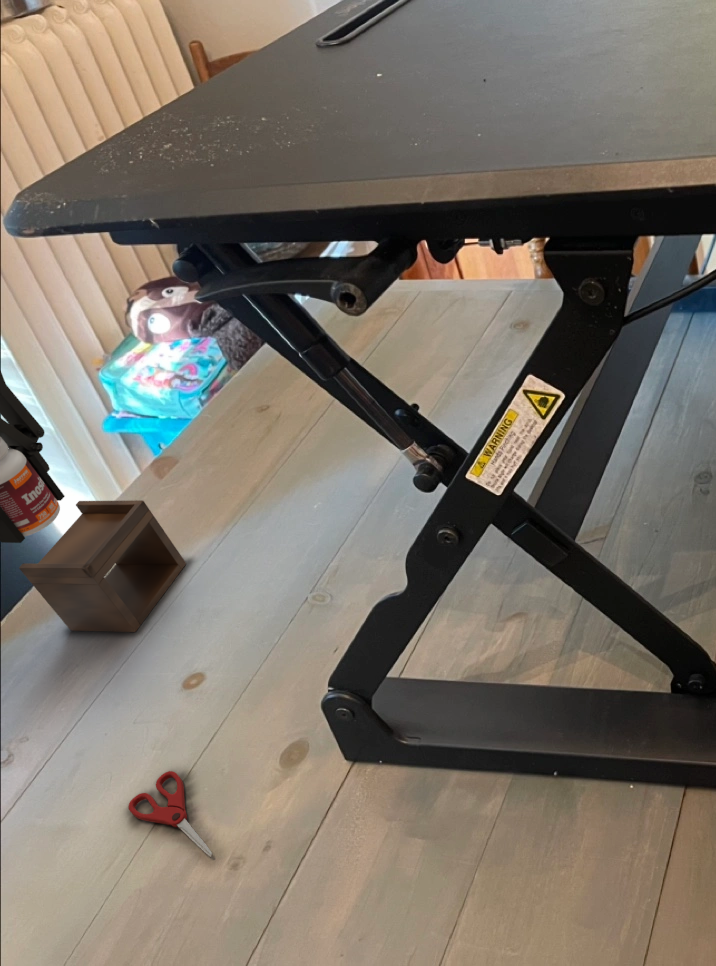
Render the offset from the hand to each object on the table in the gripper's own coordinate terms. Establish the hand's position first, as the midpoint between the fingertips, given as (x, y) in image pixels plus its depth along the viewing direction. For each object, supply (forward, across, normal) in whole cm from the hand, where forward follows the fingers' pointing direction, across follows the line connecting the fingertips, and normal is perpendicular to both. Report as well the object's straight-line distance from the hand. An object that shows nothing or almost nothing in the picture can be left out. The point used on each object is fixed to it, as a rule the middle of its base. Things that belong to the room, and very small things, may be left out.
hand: (33, 518), depth 122 cm
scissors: (+21, -24, -25) cm, 40 cm away
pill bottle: (+1, 0, 0) cm, 1 cm away
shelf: (+21, +6, +4) cm, 22 cm away
